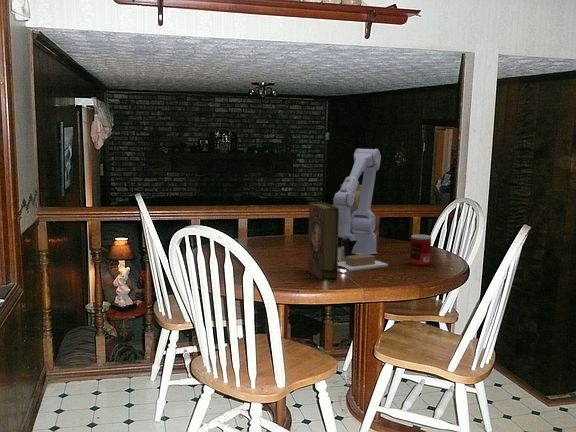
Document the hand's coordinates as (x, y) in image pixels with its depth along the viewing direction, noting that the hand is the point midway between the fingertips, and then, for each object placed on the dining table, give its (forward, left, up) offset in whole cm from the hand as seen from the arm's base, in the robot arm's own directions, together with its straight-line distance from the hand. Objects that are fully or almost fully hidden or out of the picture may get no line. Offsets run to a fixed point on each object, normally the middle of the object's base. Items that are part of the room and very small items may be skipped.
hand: (342, 255), depth 220 cm
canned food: (-24, +18, -2) cm, 30 cm away
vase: (-25, -31, -2) cm, 40 cm away
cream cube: (0, 0, -2) cm, 2 cm away
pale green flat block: (-1, +10, -2) cm, 11 cm away
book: (+20, +16, -2) cm, 26 cm away
